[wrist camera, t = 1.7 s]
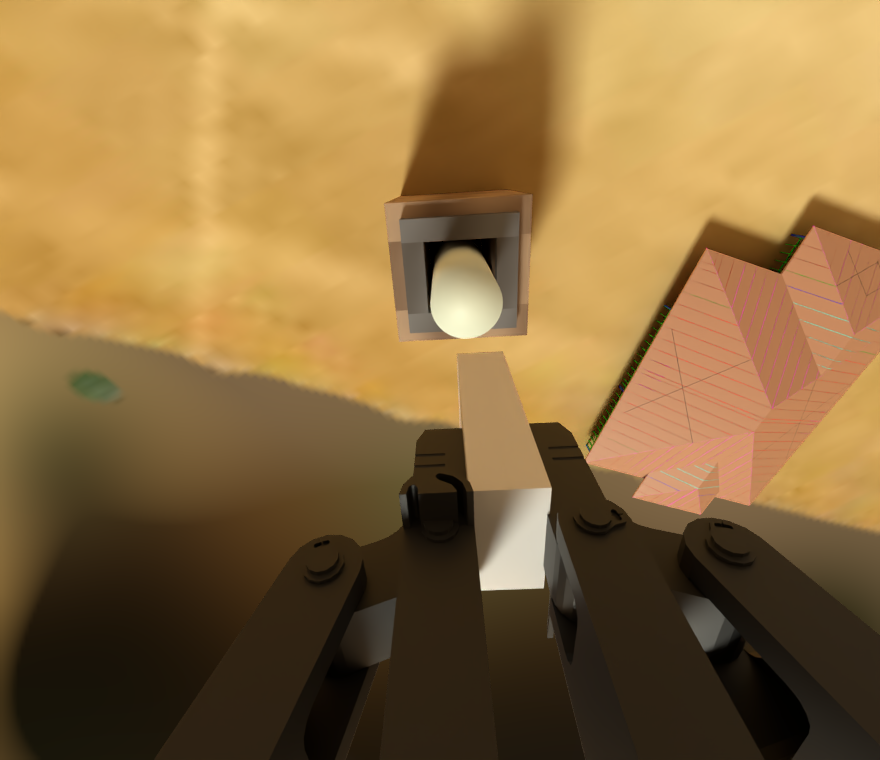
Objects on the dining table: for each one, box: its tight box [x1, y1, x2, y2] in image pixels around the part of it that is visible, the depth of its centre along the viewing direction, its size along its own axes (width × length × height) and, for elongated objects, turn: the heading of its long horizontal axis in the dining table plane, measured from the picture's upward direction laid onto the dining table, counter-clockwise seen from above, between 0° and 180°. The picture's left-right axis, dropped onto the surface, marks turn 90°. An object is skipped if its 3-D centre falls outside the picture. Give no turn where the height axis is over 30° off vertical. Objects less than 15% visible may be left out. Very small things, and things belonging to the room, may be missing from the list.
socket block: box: [384, 190, 533, 342], centre depth 35 cm, size 10×10×13 cm
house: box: [585, 226, 880, 514], centre depth 44 cm, size 23×33×8 cm
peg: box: [430, 239, 503, 339], centre depth 28 cm, size 4×4×12 cm
